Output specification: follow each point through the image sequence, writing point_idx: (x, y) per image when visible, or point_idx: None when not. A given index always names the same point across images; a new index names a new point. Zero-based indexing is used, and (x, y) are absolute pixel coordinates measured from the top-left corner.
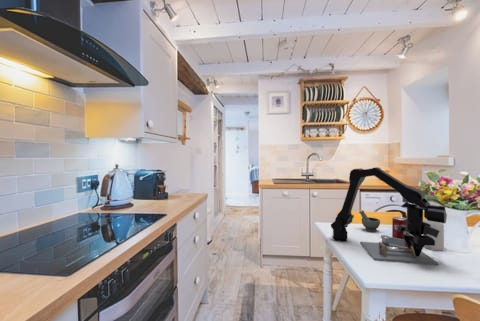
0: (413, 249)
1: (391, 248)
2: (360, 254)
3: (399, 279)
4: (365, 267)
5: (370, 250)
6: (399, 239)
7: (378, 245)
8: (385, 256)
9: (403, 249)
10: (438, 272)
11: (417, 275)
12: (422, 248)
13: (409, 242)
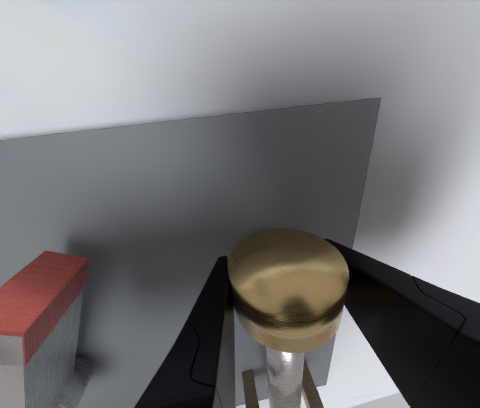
0: (357, 323)
1: (300, 398)
2: (266, 402)
3: None
4: (378, 383)
5: (235, 400)
6: (26, 401)
7: (124, 385)
8: (305, 361)
9: (304, 352)
10: (465, 159)
11: (463, 267)
12: (447, 292)
13: (232, 384)
